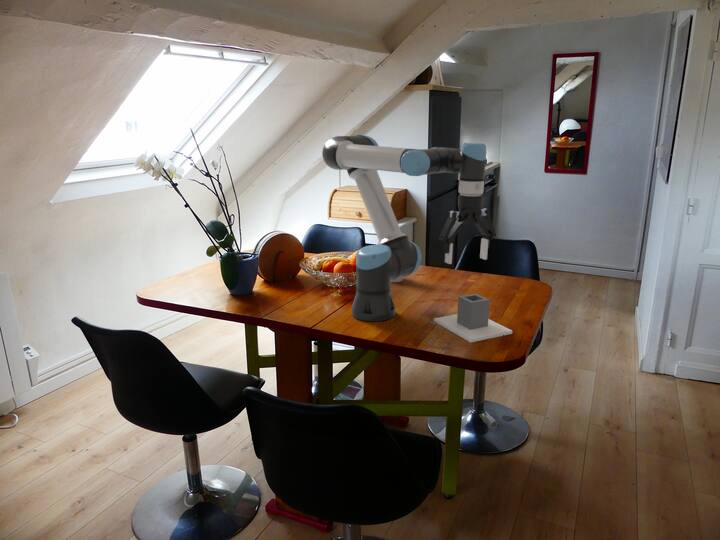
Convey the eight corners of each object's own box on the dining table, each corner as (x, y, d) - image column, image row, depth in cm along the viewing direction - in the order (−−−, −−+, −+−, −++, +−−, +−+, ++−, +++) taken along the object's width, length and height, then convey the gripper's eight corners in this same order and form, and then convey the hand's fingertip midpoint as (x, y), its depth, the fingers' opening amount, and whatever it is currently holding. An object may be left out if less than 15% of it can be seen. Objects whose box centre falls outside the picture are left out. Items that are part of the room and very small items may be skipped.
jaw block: (470, 329, 173) (471, 302, 170) (457, 322, 179) (458, 296, 176) (487, 326, 176) (489, 299, 173) (474, 319, 182) (475, 293, 179)
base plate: (470, 342, 165) (471, 321, 164) (433, 321, 183) (434, 302, 181) (512, 333, 172) (513, 313, 170) (473, 313, 190) (474, 295, 188)
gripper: (443, 198, 160) (439, 268, 166) (510, 193, 171) (504, 259, 177) (429, 194, 167) (426, 261, 173) (495, 190, 177) (490, 254, 183)
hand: (466, 260), depth 175 cm, fingers open, 13 cm apart
